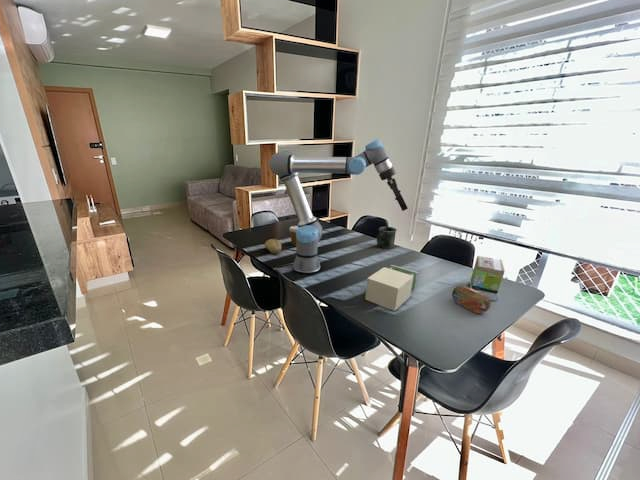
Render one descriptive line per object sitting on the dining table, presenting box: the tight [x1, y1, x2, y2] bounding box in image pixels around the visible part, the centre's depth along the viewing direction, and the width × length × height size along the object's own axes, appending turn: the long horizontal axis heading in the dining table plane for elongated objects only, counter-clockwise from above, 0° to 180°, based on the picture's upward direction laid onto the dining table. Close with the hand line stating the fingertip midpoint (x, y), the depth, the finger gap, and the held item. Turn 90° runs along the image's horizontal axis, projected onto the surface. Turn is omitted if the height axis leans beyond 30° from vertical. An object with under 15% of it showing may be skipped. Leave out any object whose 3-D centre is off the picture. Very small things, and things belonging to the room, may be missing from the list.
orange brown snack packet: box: [451, 285, 492, 314], centre depth 121 cm, size 15×3×8 cm, turn 23°
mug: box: [376, 226, 397, 250], centre depth 189 cm, size 11×15×12 cm
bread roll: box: [264, 238, 283, 255], centre depth 186 cm, size 10×15×8 cm, turn 28°
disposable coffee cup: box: [288, 225, 299, 247], centre depth 197 cm, size 10×10×12 cm
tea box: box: [469, 255, 505, 301], centre depth 132 cm, size 15×10×15 cm, turn 148°
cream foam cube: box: [364, 266, 413, 312], centre depth 128 cm, size 16×14×11 cm
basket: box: [388, 264, 419, 291], centre depth 135 cm, size 19×13×9 cm, turn 135°
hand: (403, 207), depth 147 cm, fingers open, 13 cm apart
